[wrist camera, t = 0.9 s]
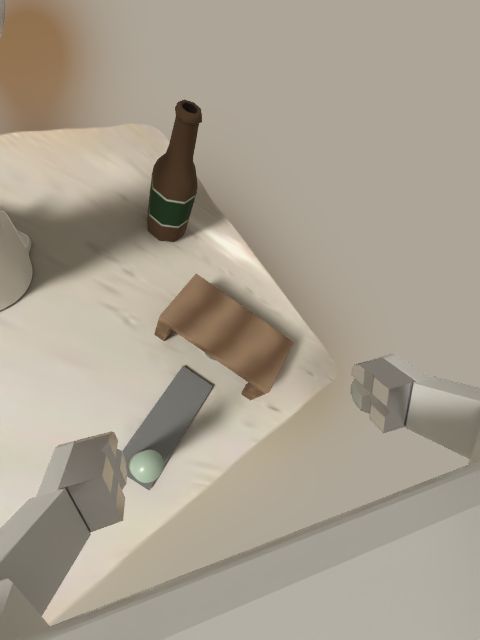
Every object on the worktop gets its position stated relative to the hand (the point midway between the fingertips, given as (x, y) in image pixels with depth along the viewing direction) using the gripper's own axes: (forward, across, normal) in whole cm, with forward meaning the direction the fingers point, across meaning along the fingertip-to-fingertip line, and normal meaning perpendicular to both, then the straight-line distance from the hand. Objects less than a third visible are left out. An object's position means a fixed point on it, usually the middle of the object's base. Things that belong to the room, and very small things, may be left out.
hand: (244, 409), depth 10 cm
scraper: (+29, +7, +25) cm, 39 cm away
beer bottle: (+56, 0, 0) cm, 56 cm away
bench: (+38, -4, +19) cm, 43 cm away
